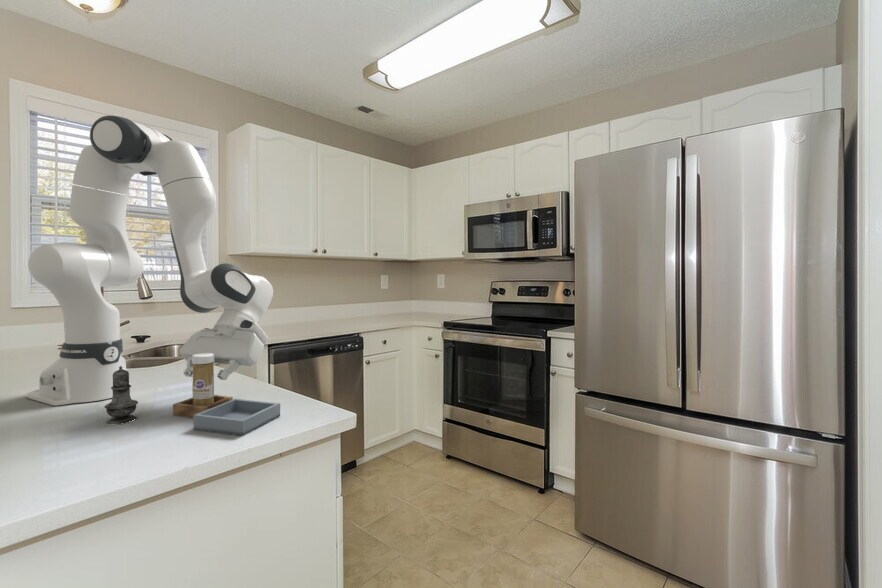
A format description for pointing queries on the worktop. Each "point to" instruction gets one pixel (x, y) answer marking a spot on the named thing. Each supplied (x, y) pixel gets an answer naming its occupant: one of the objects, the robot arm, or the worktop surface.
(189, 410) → the walnut collar
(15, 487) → the worktop surface
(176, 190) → the robot arm
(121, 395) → the salt shaker
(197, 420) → the slate tray
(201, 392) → the sprinkles bottle
